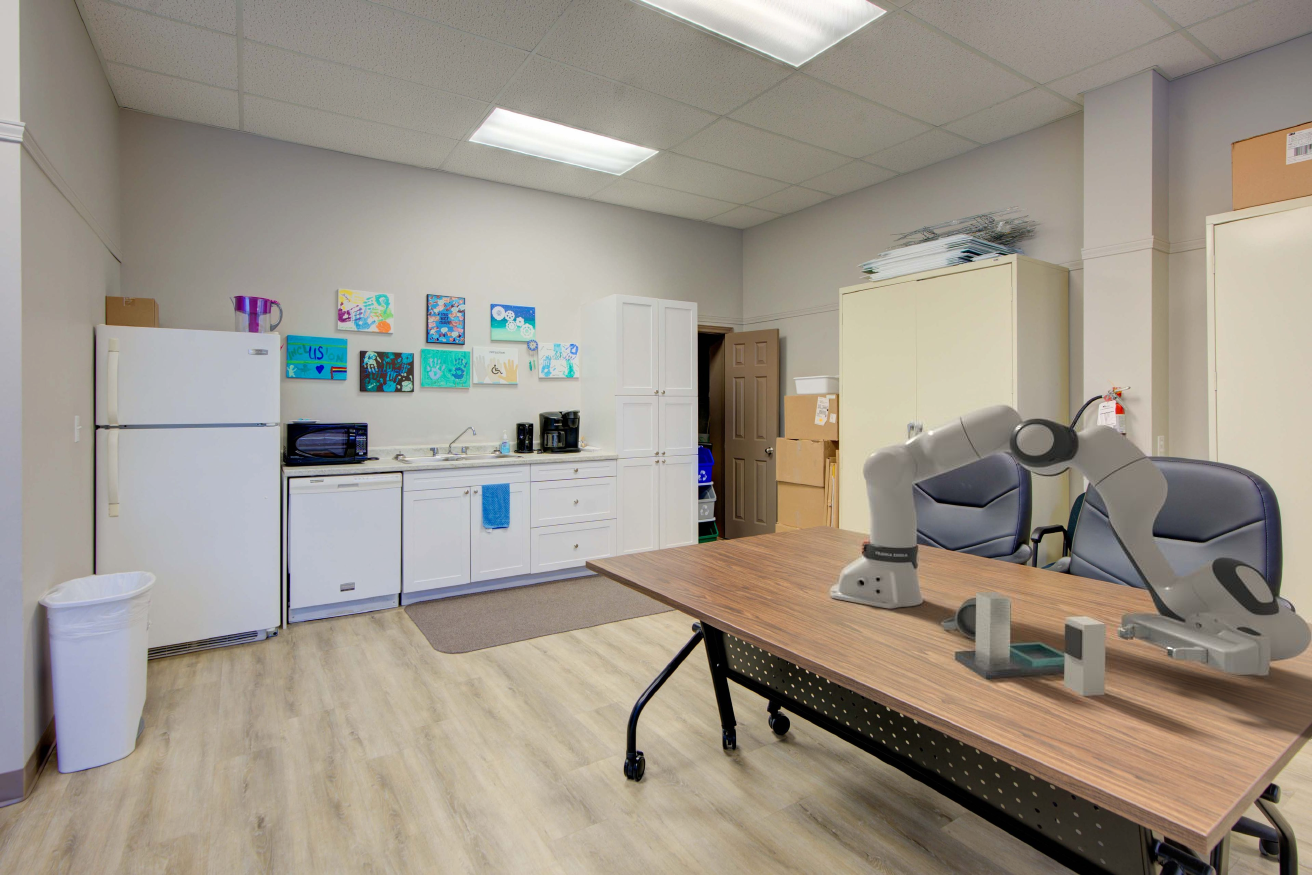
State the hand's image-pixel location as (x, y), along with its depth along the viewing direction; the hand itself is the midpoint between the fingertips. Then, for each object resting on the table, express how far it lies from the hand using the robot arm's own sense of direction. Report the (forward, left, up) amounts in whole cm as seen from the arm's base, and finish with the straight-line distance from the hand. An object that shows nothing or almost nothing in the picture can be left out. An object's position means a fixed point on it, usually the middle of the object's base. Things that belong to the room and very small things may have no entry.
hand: (1144, 643), depth 107 cm
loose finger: (-9, -6, -8) cm, 14 cm away
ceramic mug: (-27, +16, -8) cm, 32 cm away
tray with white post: (-19, 0, -8) cm, 21 cm away
